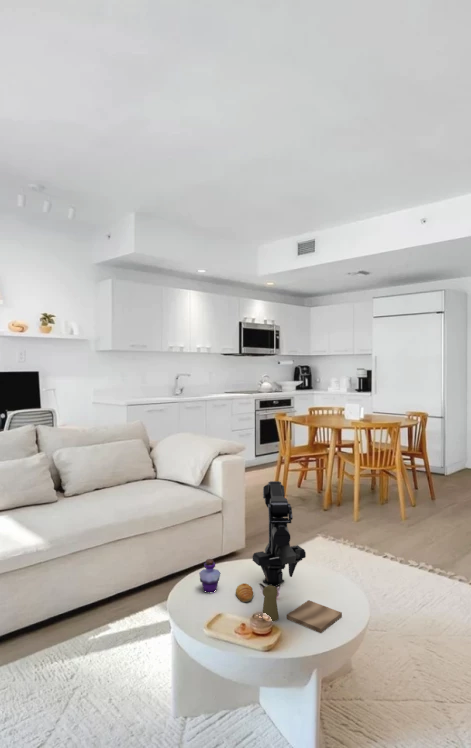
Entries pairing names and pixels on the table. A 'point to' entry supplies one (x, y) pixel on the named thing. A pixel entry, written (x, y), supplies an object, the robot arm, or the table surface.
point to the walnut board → (314, 616)
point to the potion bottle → (209, 576)
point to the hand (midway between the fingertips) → (279, 579)
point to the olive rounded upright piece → (270, 602)
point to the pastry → (244, 592)
